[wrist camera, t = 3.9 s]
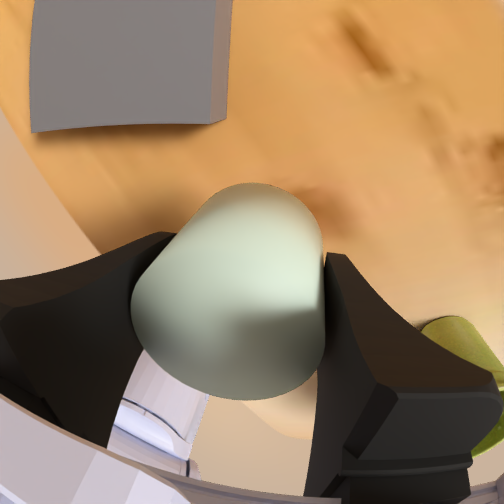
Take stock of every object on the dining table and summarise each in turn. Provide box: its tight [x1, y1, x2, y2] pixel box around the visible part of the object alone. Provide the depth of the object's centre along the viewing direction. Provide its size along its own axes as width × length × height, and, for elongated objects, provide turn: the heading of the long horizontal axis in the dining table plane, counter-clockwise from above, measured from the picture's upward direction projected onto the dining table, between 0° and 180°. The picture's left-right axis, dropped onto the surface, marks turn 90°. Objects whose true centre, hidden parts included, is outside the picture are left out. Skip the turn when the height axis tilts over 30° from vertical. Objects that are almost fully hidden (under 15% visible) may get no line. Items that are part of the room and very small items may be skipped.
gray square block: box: [29, 0, 232, 133], centre depth 13 cm, size 12×12×3 cm
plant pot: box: [421, 316, 504, 459], centre depth 17 cm, size 9×9×9 cm
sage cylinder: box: [131, 183, 325, 400], centre depth 10 cm, size 5×5×5 cm
